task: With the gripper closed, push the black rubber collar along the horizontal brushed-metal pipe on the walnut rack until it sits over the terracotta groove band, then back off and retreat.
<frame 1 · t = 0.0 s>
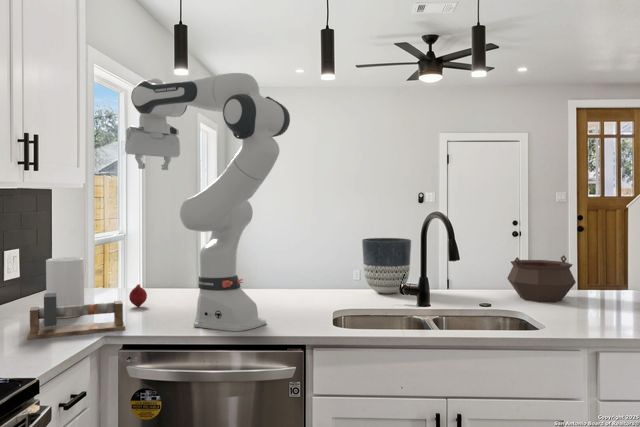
hand: (153, 169, 186), 48 cm above the countertop, fingers open, 8 cm apart
pipe rack: (77, 331, 157), on the countertop
planter: (386, 293, 220), on the countertop
brown cauldron: (540, 299, 205), on the countertop
onion: (138, 307, 192), on the countertop
cup: (65, 315, 179), on the countertop
collar: (50, 309, 154), point 7 cm above the countertop, slide at 0.0 cm
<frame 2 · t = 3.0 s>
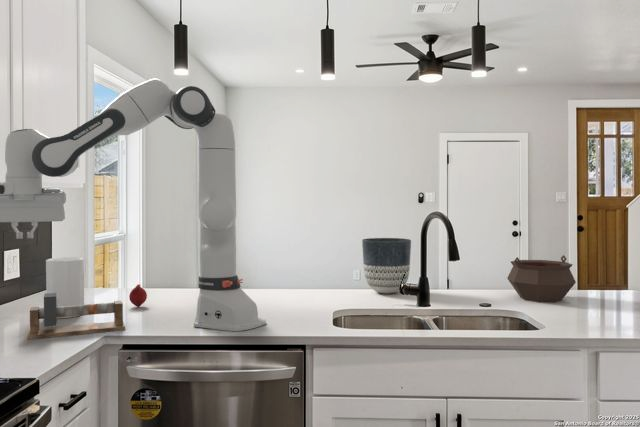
hand: (25, 238, 151), 27 cm above the countertop, fingers closed
nothing on the countertop moved.
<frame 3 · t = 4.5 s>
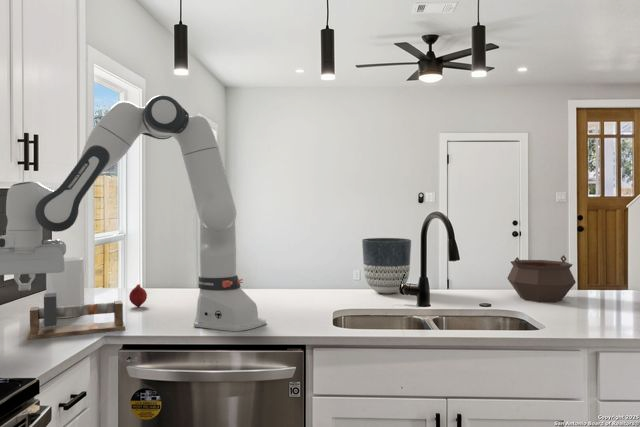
hand: (24, 290, 151), 13 cm above the countertop, fingers closed
nothing on the countertop moved.
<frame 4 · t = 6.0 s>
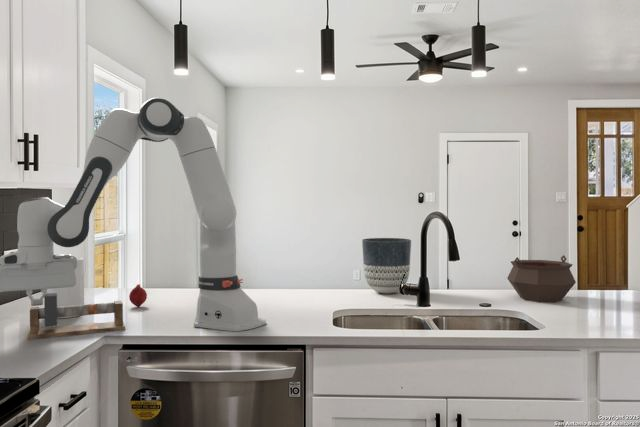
hand: (37, 305, 152), 8 cm above the countertop, fingers closed
collar: (50, 309, 154), point 7 cm above the countertop, slide at 0.1 cm, touching gripper
everything else where it was.
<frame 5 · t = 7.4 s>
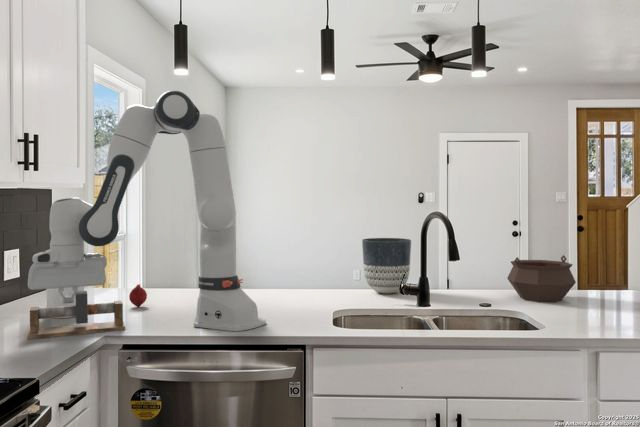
hand: (68, 302, 156), 8 cm above the countertop, fingers closed
collar: (81, 307, 157), point 7 cm above the countertop, slide at 8.1 cm, touching gripper
everything else where it was.
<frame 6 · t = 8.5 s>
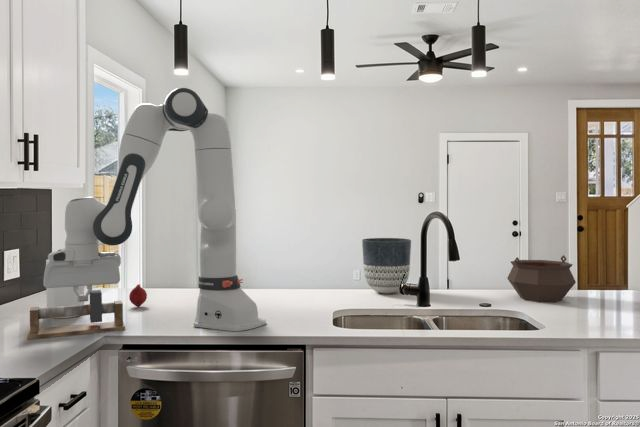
hand: (82, 301, 157), 9 cm above the countertop, fingers closed
collar: (95, 306, 159), point 7 cm above the countertop, slide at 11.8 cm, touching gripper
everything else where it was.
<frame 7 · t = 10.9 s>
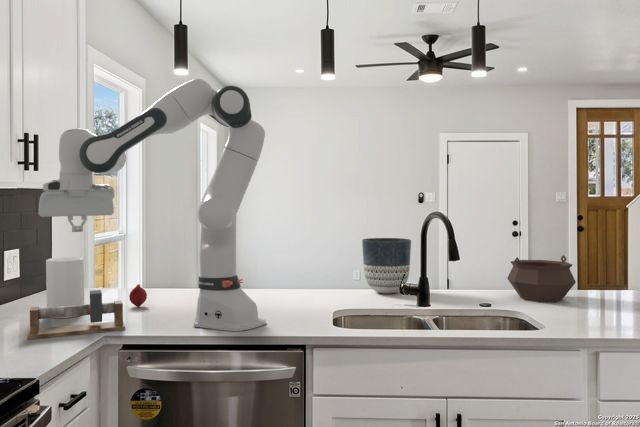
hand: (77, 231, 160), 28 cm above the countertop, fingers closed
collar: (95, 305, 159), point 7 cm above the countertop, slide at 11.9 cm
everything else where it was.
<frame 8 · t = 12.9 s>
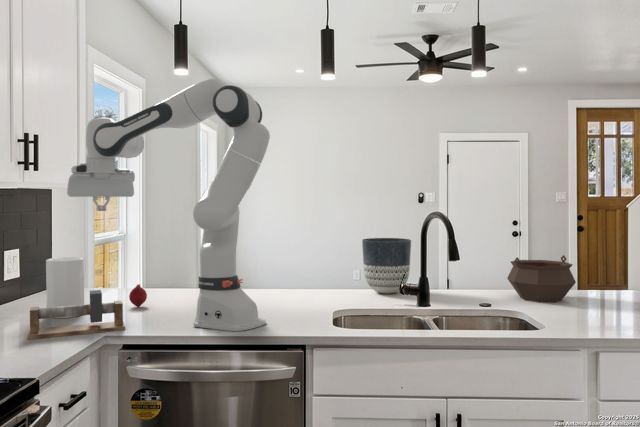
hand: (101, 210, 178), 34 cm above the countertop, fingers closed
nothing on the countertop moved.
at the end: collar slide at 11.9 cm; the gripper is holding nothing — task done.
